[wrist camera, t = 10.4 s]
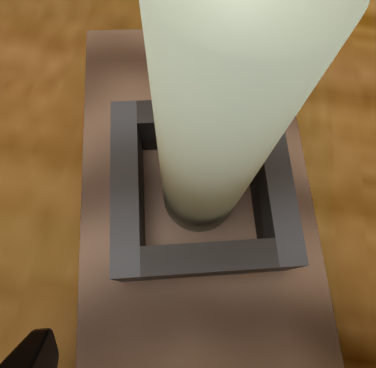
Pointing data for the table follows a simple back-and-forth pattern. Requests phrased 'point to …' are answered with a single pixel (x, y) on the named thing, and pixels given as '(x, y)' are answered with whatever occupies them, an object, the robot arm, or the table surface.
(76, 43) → the table surface
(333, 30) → the pale green peg
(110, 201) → the keeper
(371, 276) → the table surface
